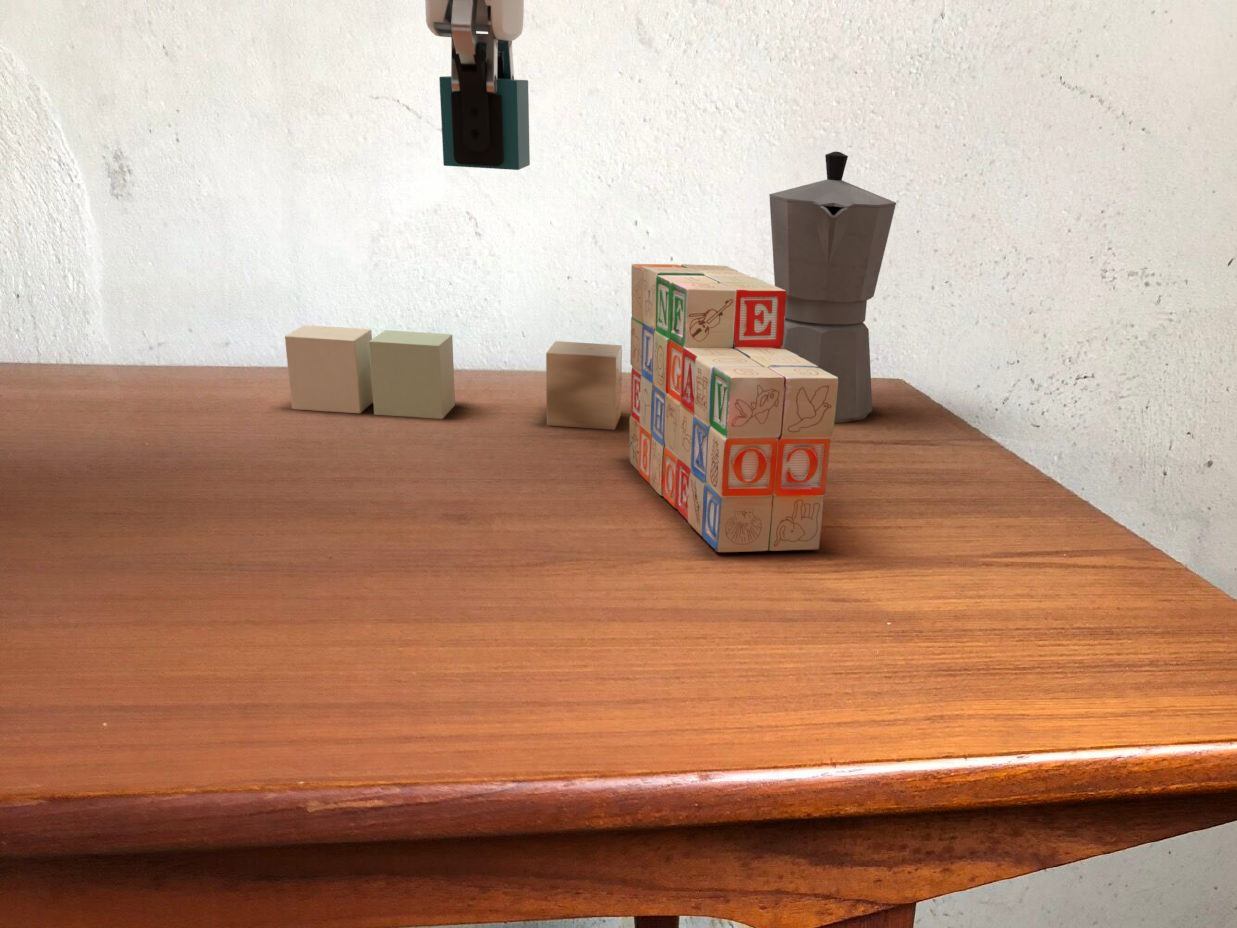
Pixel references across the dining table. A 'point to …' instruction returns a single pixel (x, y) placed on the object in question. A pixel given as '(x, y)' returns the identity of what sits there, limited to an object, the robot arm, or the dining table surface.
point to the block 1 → (329, 369)
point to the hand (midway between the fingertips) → (486, 158)
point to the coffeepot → (831, 277)
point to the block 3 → (583, 385)
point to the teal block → (513, 123)
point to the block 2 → (412, 374)
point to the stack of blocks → (727, 408)
